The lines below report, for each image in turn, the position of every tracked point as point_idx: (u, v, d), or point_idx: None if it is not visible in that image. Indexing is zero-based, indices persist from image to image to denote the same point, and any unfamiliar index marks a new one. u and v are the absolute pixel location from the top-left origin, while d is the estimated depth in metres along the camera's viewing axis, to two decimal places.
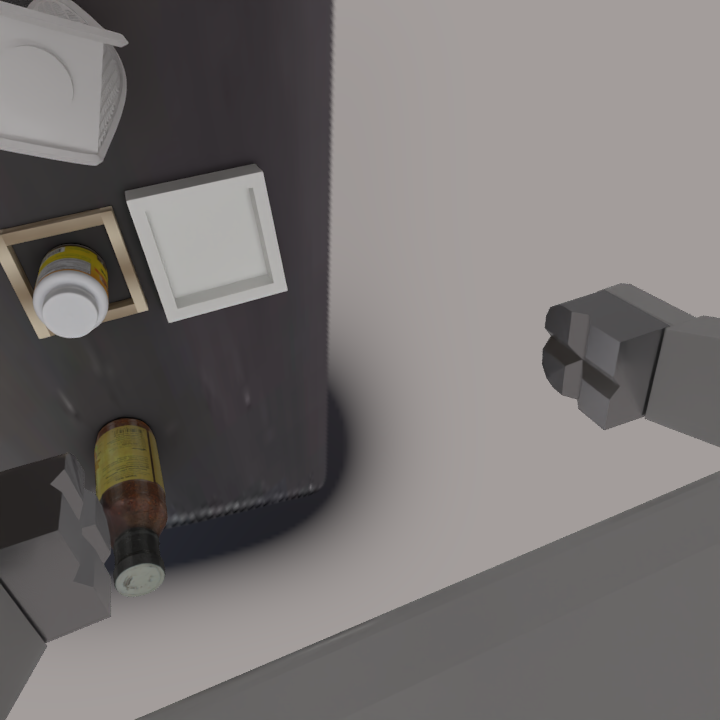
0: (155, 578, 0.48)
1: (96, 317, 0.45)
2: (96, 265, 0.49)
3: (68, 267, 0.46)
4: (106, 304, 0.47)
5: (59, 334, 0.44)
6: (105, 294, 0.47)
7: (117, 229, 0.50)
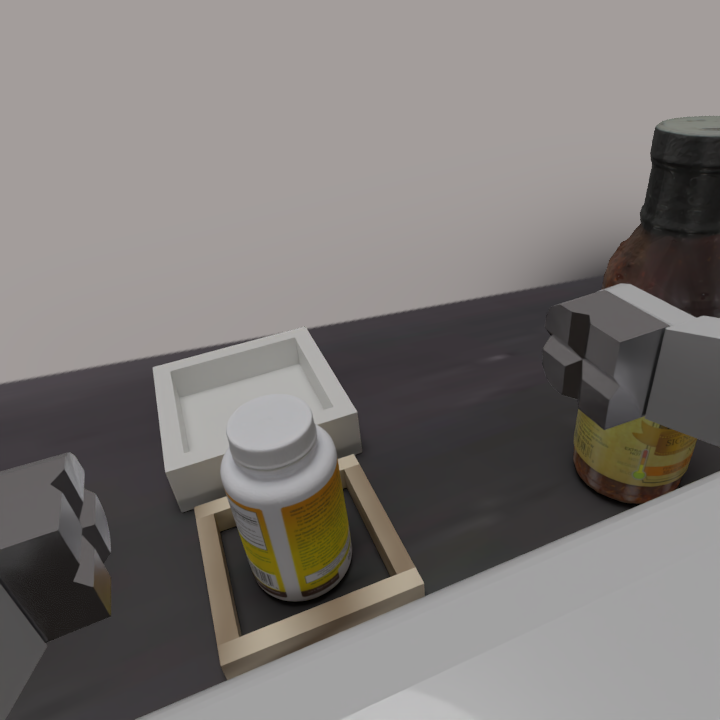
0: (693, 118, 0.25)
1: (274, 394, 0.27)
2: None
3: None
4: None
5: (303, 428, 0.25)
6: None
7: (223, 498, 0.33)
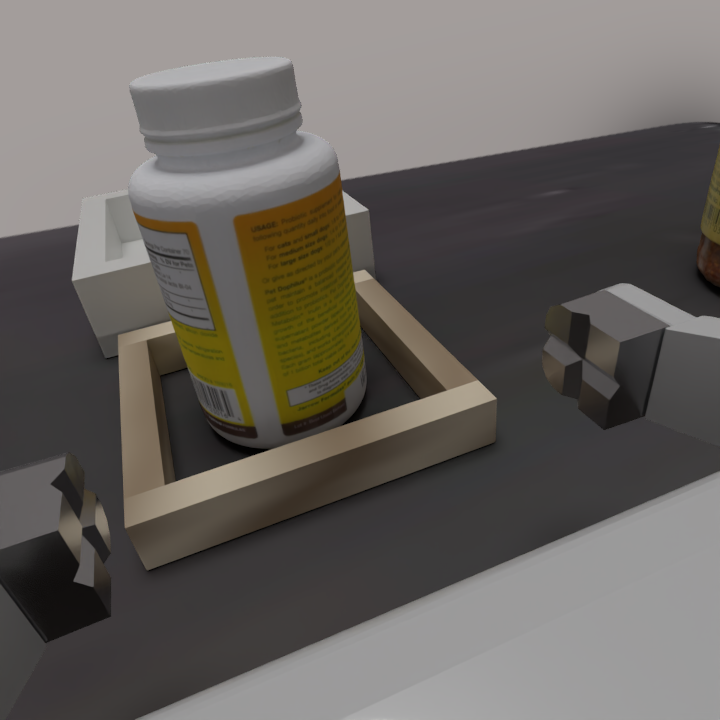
0: None
1: (225, 60, 0.15)
2: None
3: None
4: None
5: (273, 64, 0.13)
6: None
7: (164, 324, 0.21)
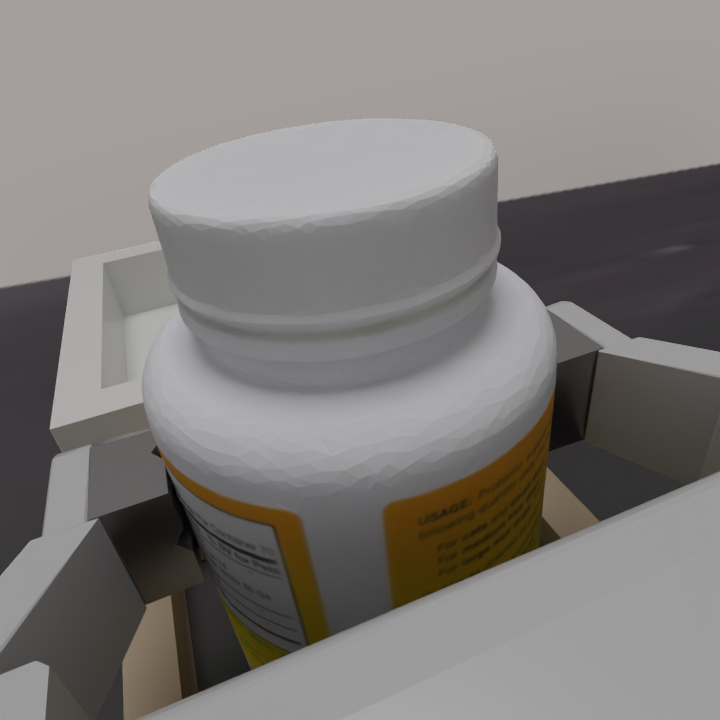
0: None
1: (328, 122, 0.08)
2: None
3: None
4: None
5: (476, 157, 0.06)
6: None
7: None
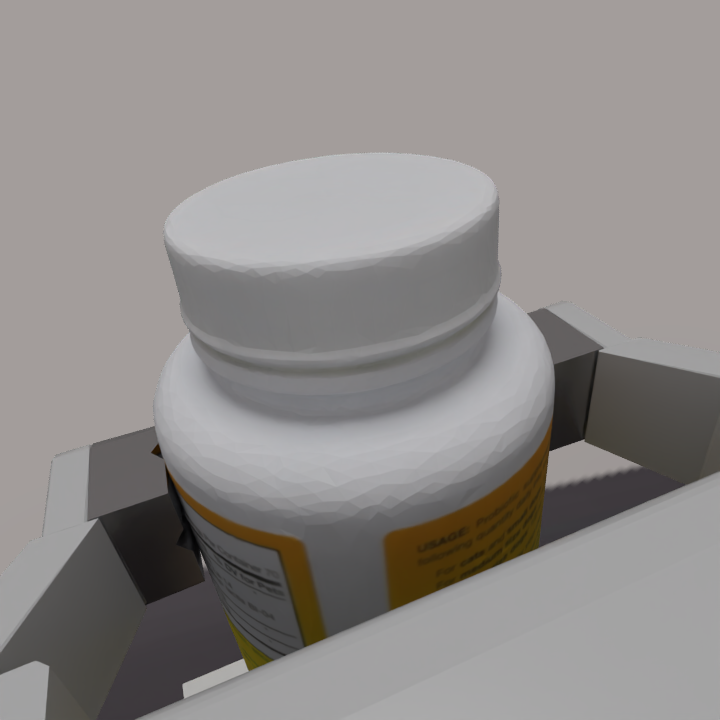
0: None
1: (336, 155, 0.08)
2: None
3: None
4: None
5: (477, 201, 0.06)
6: None
7: None
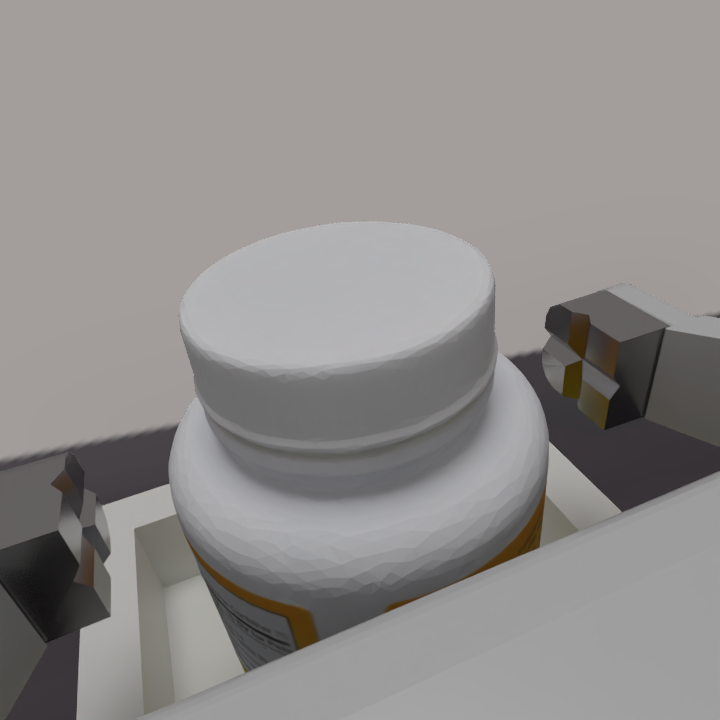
0: None
1: None
2: None
3: None
4: None
5: (474, 293, 0.06)
6: None
7: None
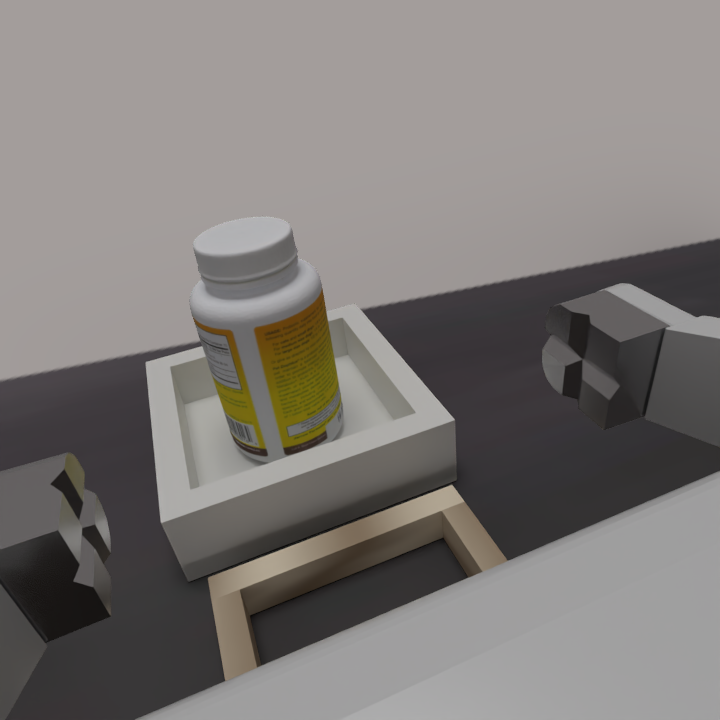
0: None
1: (250, 217, 0.24)
2: None
3: None
4: None
5: (279, 236, 0.22)
6: None
7: (254, 562, 0.21)
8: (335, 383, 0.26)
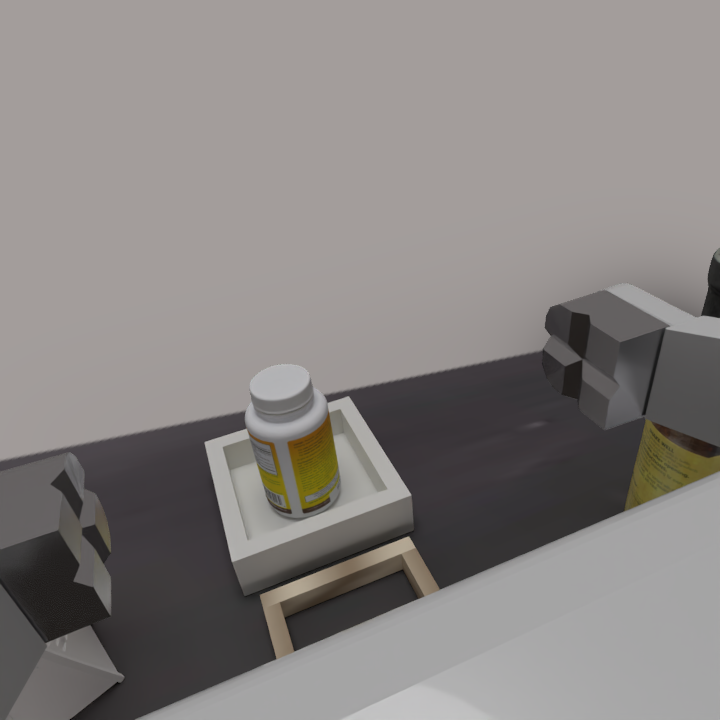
0: None
1: (283, 364, 0.38)
2: None
3: None
4: None
5: (303, 385, 0.35)
6: None
7: (287, 585, 0.35)
8: (336, 466, 0.39)
